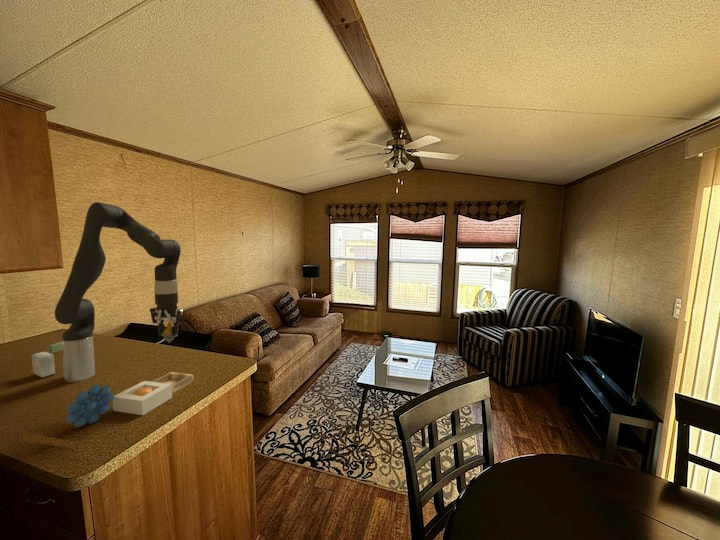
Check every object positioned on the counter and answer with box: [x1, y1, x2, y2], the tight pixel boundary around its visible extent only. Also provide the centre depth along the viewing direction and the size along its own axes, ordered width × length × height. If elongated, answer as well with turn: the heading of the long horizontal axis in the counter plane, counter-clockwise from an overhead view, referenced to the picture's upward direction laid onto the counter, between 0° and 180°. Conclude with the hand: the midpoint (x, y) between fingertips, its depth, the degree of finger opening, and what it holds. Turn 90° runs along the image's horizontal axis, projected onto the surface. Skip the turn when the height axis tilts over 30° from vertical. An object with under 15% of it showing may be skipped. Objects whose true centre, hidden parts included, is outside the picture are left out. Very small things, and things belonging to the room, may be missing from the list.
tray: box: [151, 371, 195, 395], centre depth 120 cm, size 11×11×3 cm
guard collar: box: [112, 380, 173, 416], centre depth 107 cm, size 12×12×5 cm
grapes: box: [65, 384, 115, 428], centre depth 96 cm, size 12×7×12 cm, turn 145°
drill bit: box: [160, 321, 179, 344], centre depth 119 cm, size 5×5×10 cm
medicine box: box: [31, 351, 56, 378], centre depth 129 cm, size 8×4×9 cm, turn 65°
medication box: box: [46, 340, 63, 354], centre depth 158 cm, size 12×3×4 cm, turn 168°
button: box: [135, 387, 152, 396], centre depth 107 cm, size 5×5×4 cm
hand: (168, 334), depth 118 cm, fingers closed on drill bit, 5 cm apart
